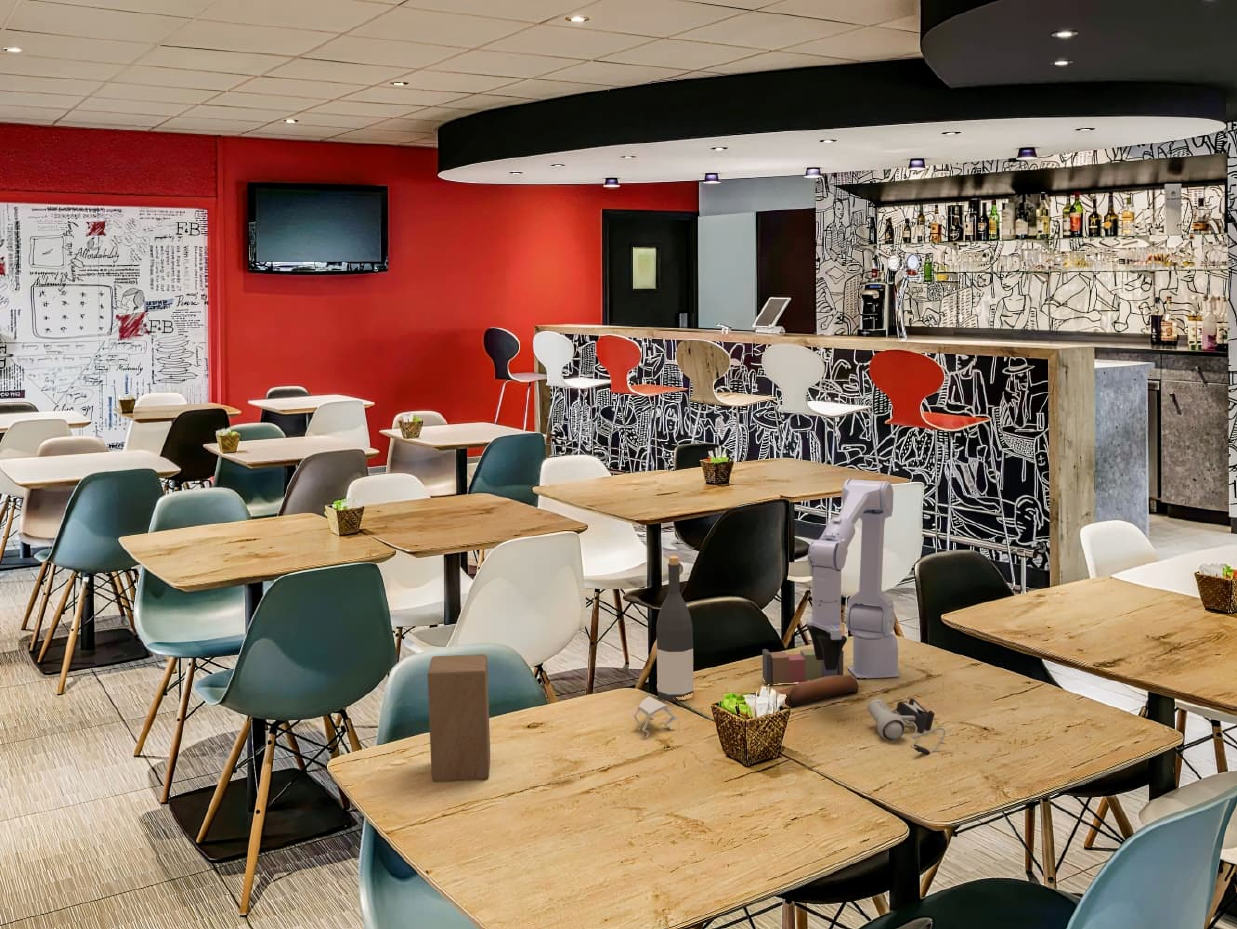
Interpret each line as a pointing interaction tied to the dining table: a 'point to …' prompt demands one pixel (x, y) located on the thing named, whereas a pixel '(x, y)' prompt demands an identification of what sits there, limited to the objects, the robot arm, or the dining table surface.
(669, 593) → the wine bottle
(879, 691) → the dining table surface
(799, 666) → the book row
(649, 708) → the grey legged block
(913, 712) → the clip-on lamp
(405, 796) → the dining table surface
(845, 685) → the sunglasses case
